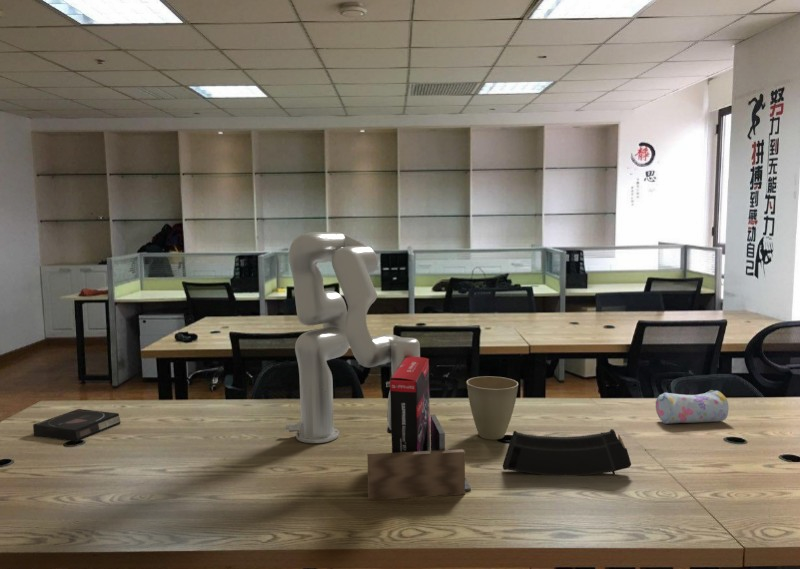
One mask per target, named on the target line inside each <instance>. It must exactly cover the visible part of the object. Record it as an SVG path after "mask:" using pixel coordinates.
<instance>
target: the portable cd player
mask: <svg viewBox="0 0 800 569" xmlns="http://www.w3.org/2000/svg"><path fill="white" fill-rule="evenodd" d="M120 424H121V418H120V414H119V412H118V413H117V412H109V411H99V410H91V409H82V408H77V409H74V410H71V411H68V412H66V413H62V414H59V415H57V416H53V417H51V418H47V419H45V420H42V421H40V422H36V423H34V424H32V426H33V427H32V428H33V436H34V437H40V438H45V439H54V440H60V441H68V442H80V441H81V440H84V439H86V438H89V437H92V436H94V435H97V434H99V433H102V432H104V431H106V430H109V429H112V428H115V427H116V426H119V425H120Z"/></svg>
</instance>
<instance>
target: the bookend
mask: <svg viewBox="0 0 800 569" xmlns="http://www.w3.org/2000/svg"><path fill="white" fill-rule="evenodd" d="M445 437H446V434H445V431H444V429H443V427H442V425H441V422H440V421H439V419H438V418H437V416H436V414H430V451H440V450H446V441H445V440H446V438H445ZM471 491H472V490H471V486H470V485H469V483H468V480H467V479H466V477H465V492H471Z"/></svg>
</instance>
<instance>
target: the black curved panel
mask: <svg viewBox="0 0 800 569" xmlns="http://www.w3.org/2000/svg"><path fill="white" fill-rule="evenodd" d="M620 435H621V434H618V435H617V434H616V431H615V429H610V430H609V431H607V432H605V431H604V432H600V433H595V434H587V435H578V436H547V435H546V436H545V435H535V434H533V435H532V434H527V433H521V432H518V431H516V430H513V432H512V435H511V437H510V440H509V443H508V447H507V451H506V453H505V456H504V460H503V463H502V469H503V470H504V471H515V472H522V473H526V474H527V473H528V474H532V475H533V474H534V475H542V476H561V475H580V476H590V475H596V474H607V473H612V474H613V475H614V474H615V475H616V471H617V472H618V471H621V470H625V469H628V468H630V467H631V466H632V462H631V459H630V455H629V452H628V448H627V447H625V446H626V445H625V443H624V441H623V439H622V437H621V436H620Z"/></svg>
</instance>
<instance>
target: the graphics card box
mask: <svg viewBox="0 0 800 569" xmlns="http://www.w3.org/2000/svg"><path fill="white" fill-rule="evenodd" d="M429 360H430V359H429V358H427V357H423V356H422V357H421V356H420V357H412V356H405V357H404V359H403V360H402V362H401V363H400V365H399V366H398V367H397V369H396V370H395V372H394V373H393V375H392V374H391V376H390V377H389V381H390V387H389V392H390V397H391V434H390V435H391V453H399V452H419V451H431V425H430V415H431V414H430V370H429V369H430V365H429Z"/></svg>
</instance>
